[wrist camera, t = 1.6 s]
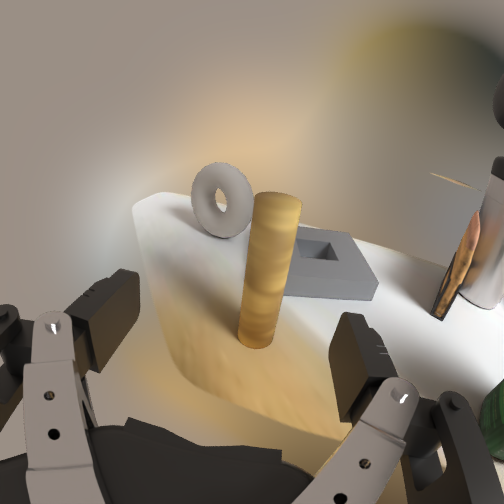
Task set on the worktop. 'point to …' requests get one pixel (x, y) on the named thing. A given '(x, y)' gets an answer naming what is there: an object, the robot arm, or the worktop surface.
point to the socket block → (328, 267)
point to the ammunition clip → (457, 269)
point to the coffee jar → (494, 421)
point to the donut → (236, 196)
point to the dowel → (267, 266)
